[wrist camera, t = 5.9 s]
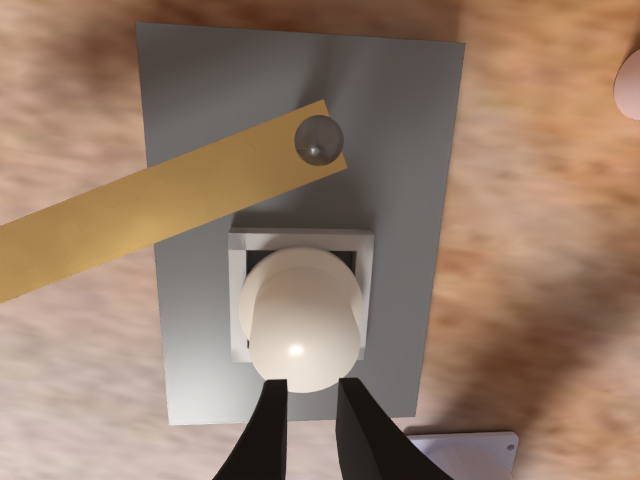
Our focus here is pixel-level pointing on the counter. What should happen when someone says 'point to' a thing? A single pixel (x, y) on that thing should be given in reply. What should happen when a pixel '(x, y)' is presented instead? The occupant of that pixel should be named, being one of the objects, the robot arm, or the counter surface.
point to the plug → (302, 317)
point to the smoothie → (629, 87)
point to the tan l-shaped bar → (169, 198)
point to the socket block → (301, 201)
